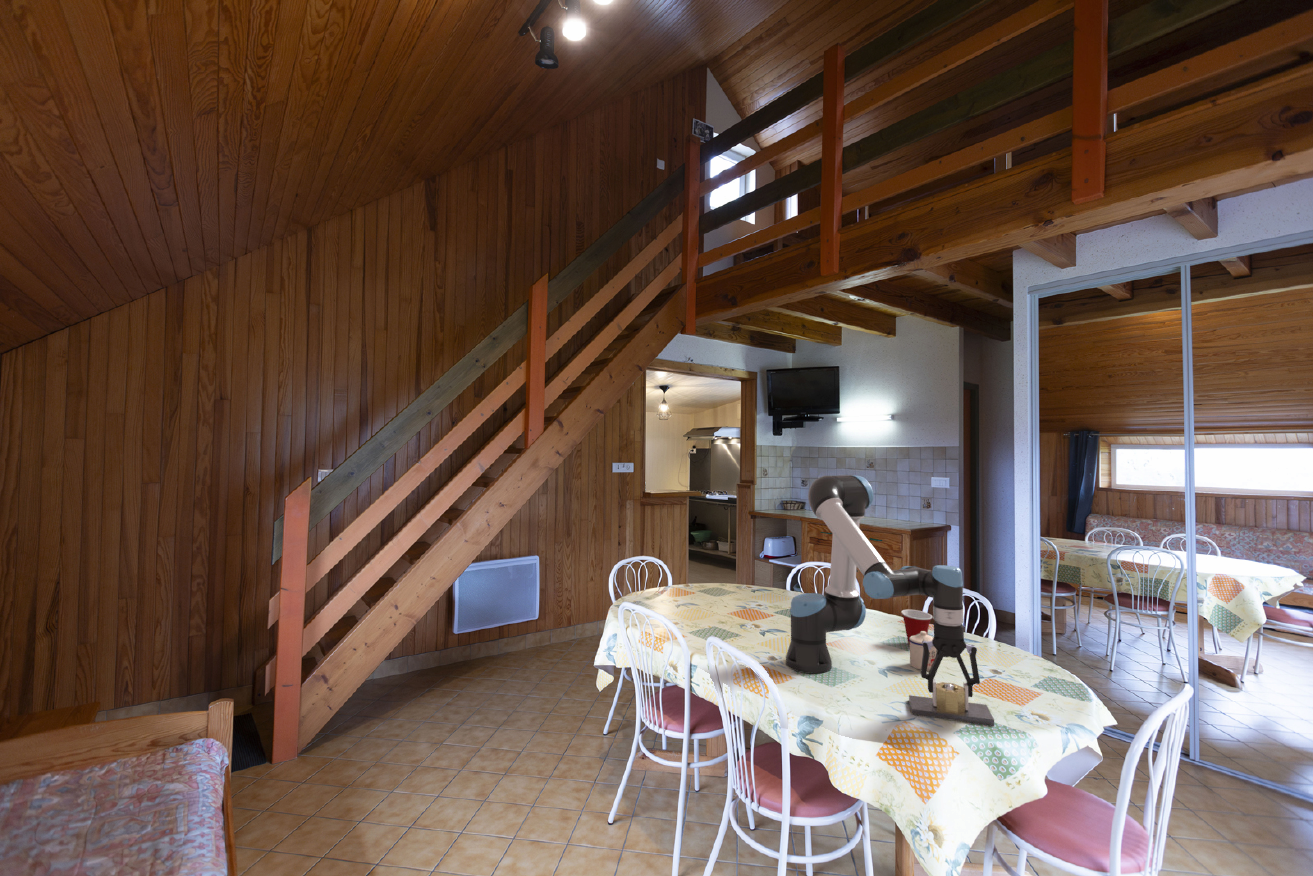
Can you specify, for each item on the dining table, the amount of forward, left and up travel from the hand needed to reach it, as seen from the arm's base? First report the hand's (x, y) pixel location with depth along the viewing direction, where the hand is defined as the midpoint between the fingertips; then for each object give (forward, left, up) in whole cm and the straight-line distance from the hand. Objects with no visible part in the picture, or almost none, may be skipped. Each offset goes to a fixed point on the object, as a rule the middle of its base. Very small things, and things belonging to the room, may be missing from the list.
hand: (950, 706), depth 163 cm
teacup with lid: (-2, +38, -2) cm, 38 cm away
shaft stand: (0, 0, -2) cm, 2 cm away
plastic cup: (-3, +61, -2) cm, 61 cm away
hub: (0, 0, 0) cm, 0 cm away
